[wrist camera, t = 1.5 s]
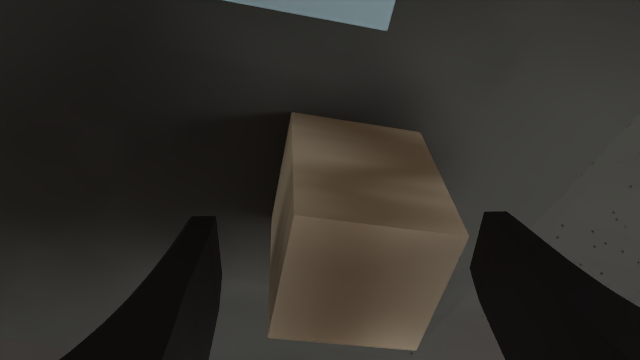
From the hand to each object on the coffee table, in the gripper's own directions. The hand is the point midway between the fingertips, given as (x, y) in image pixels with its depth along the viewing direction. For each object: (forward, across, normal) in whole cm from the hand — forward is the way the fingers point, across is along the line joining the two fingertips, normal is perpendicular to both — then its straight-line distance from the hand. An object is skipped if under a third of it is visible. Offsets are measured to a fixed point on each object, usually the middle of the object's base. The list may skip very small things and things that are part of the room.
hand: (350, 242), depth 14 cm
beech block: (+3, 0, 0) cm, 3 cm away
